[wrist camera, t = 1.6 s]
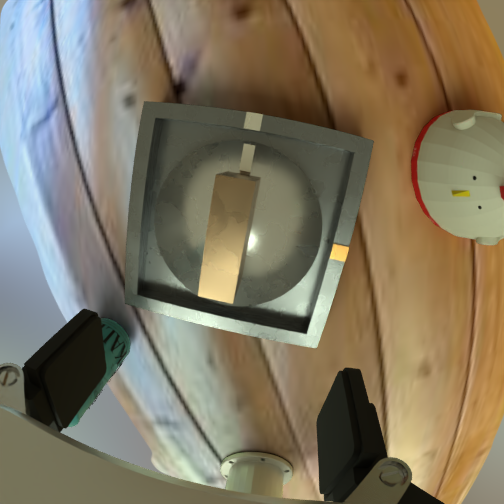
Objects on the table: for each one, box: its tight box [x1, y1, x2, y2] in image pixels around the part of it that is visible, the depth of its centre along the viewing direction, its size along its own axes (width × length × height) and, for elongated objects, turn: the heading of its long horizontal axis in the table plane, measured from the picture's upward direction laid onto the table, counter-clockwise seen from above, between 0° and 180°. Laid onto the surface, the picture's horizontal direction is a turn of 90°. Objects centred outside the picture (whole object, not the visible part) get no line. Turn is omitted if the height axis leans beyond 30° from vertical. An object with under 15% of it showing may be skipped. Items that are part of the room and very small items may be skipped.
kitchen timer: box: [411, 110, 504, 245], centre depth 20 cm, size 14×14×15 cm
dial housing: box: [125, 101, 374, 348], centre depth 30 cm, size 21×21×4 cm
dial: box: [154, 140, 322, 306], centre depth 27 cm, size 16×16×6 cm
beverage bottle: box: [68, 318, 130, 427], centre depth 28 cm, size 6×7×20 cm
